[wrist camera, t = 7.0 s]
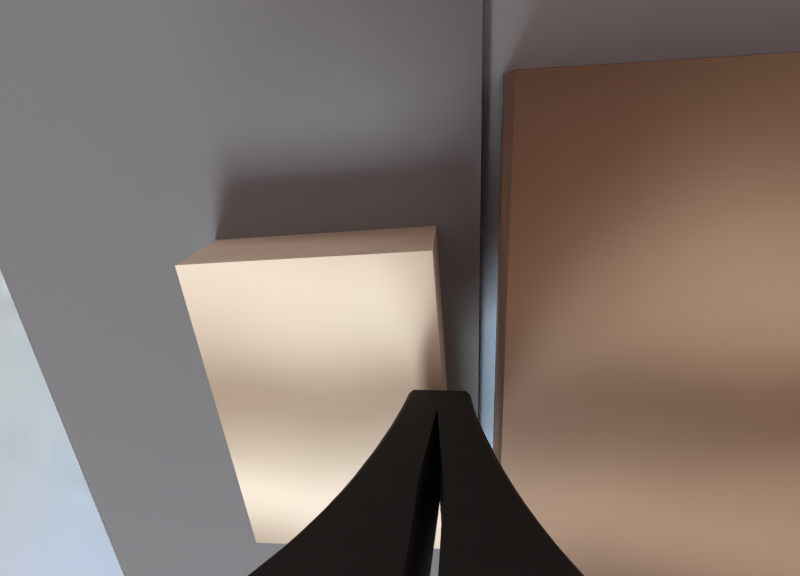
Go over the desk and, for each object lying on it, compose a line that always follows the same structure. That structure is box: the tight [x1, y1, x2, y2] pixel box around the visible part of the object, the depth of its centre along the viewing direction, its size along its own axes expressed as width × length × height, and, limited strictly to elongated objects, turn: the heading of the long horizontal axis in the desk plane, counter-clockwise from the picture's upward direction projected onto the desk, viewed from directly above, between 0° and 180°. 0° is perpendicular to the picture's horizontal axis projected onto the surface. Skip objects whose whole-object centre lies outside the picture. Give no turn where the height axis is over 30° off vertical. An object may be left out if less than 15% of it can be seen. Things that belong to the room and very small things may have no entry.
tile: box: [175, 226, 448, 549], centre depth 13 cm, size 9×6×2 cm, turn 6°
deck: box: [493, 52, 800, 576], centre depth 12 cm, size 16×12×2 cm
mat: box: [0, 0, 483, 576], centre depth 15 cm, size 22×14×1 cm, turn 3°
